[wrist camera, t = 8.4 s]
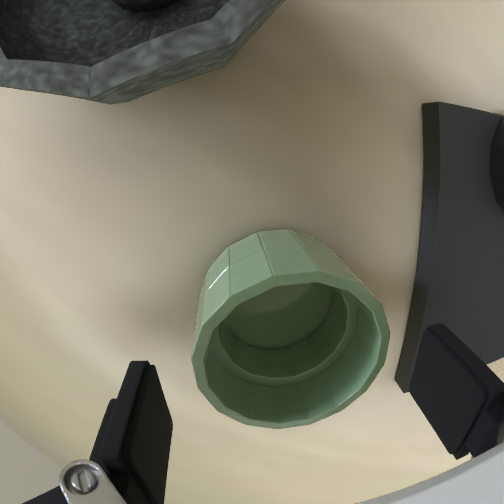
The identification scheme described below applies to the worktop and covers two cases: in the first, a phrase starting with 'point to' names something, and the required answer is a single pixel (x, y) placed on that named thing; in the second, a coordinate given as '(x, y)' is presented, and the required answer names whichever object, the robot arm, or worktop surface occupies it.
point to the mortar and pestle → (120, 43)
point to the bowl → (285, 332)
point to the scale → (460, 234)
